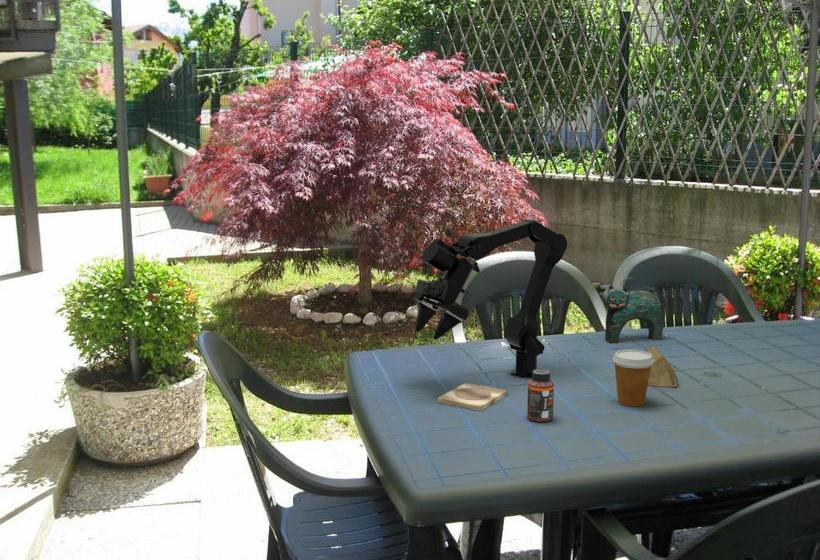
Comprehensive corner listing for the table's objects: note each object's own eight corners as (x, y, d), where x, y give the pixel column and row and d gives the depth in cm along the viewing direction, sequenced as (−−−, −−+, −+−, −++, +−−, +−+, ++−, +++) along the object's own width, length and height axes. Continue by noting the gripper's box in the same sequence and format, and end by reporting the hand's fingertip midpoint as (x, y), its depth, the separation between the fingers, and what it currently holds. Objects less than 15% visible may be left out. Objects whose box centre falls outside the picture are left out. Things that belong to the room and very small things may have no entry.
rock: (689, 377, 224) (660, 363, 231) (680, 356, 219) (651, 343, 227) (664, 405, 221) (635, 390, 229) (654, 385, 216) (626, 371, 224)
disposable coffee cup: (629, 411, 205) (631, 362, 203) (603, 399, 213) (604, 352, 211) (660, 404, 209) (662, 356, 207) (632, 393, 218) (634, 347, 215)
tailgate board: (467, 386, 225) (467, 381, 224) (509, 393, 218) (509, 388, 218) (437, 402, 212) (437, 397, 212) (480, 411, 206) (480, 405, 206)
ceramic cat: (606, 344, 263) (608, 280, 260) (597, 339, 270) (599, 276, 266) (666, 340, 267) (669, 277, 264) (656, 335, 274) (659, 273, 270)
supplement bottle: (552, 423, 197) (553, 375, 195) (526, 422, 199) (527, 374, 196) (553, 414, 203) (554, 368, 201) (528, 413, 204) (528, 367, 202)
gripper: (412, 260, 223) (384, 314, 222) (449, 271, 207) (419, 329, 206) (444, 279, 229) (416, 332, 227) (482, 292, 213) (453, 348, 211)
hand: (425, 335), depth 218 cm, fingers open, 9 cm apart
